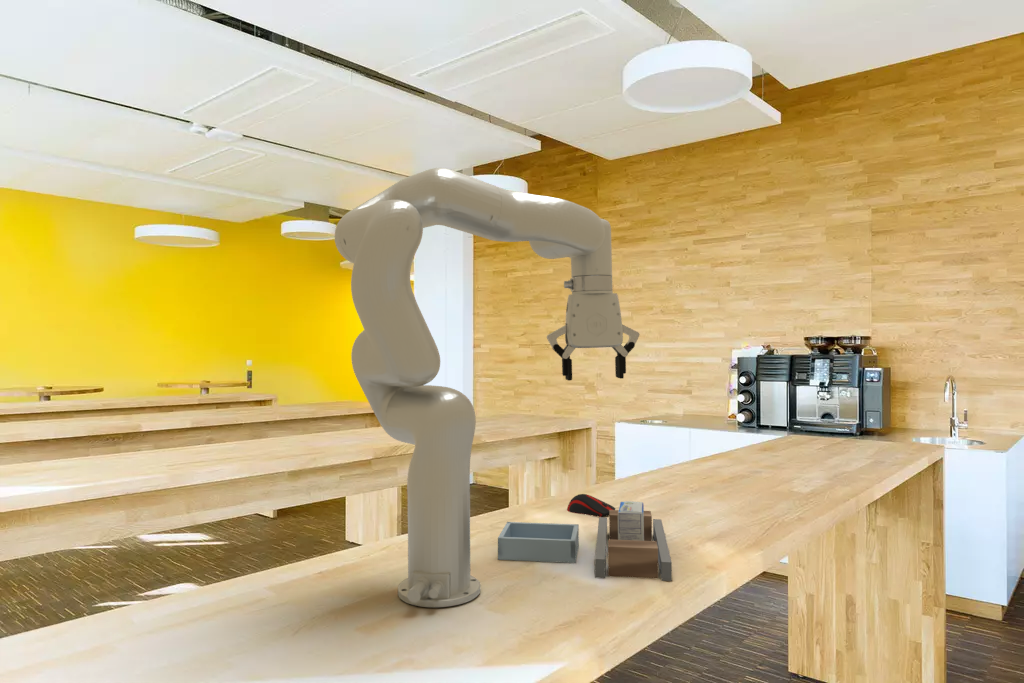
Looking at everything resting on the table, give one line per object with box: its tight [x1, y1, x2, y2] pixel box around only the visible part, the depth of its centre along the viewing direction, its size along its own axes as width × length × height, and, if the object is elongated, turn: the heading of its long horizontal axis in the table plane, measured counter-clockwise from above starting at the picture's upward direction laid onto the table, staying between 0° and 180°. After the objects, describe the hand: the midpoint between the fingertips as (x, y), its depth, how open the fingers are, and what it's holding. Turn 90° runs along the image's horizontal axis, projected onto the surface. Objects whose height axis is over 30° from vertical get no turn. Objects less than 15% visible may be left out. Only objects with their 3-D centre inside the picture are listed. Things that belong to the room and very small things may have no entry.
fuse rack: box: [594, 516, 673, 582], centre depth 124 cm, size 26×12×3 cm, turn 171°
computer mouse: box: [566, 493, 616, 518], centre depth 154 cm, size 6×11×4 cm, turn 53°
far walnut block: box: [608, 509, 653, 541], centre depth 133 cm, size 4×8×5 cm, turn 82°
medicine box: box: [618, 500, 645, 541], centre depth 124 cm, size 8×4×9 cm, turn 168°
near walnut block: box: [607, 538, 659, 579], centre depth 114 cm, size 4×8×5 cm, turn 82°
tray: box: [497, 521, 580, 564], centre depth 125 cm, size 11×14×4 cm
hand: (594, 378), depth 128 cm, fingers open, 9 cm apart
